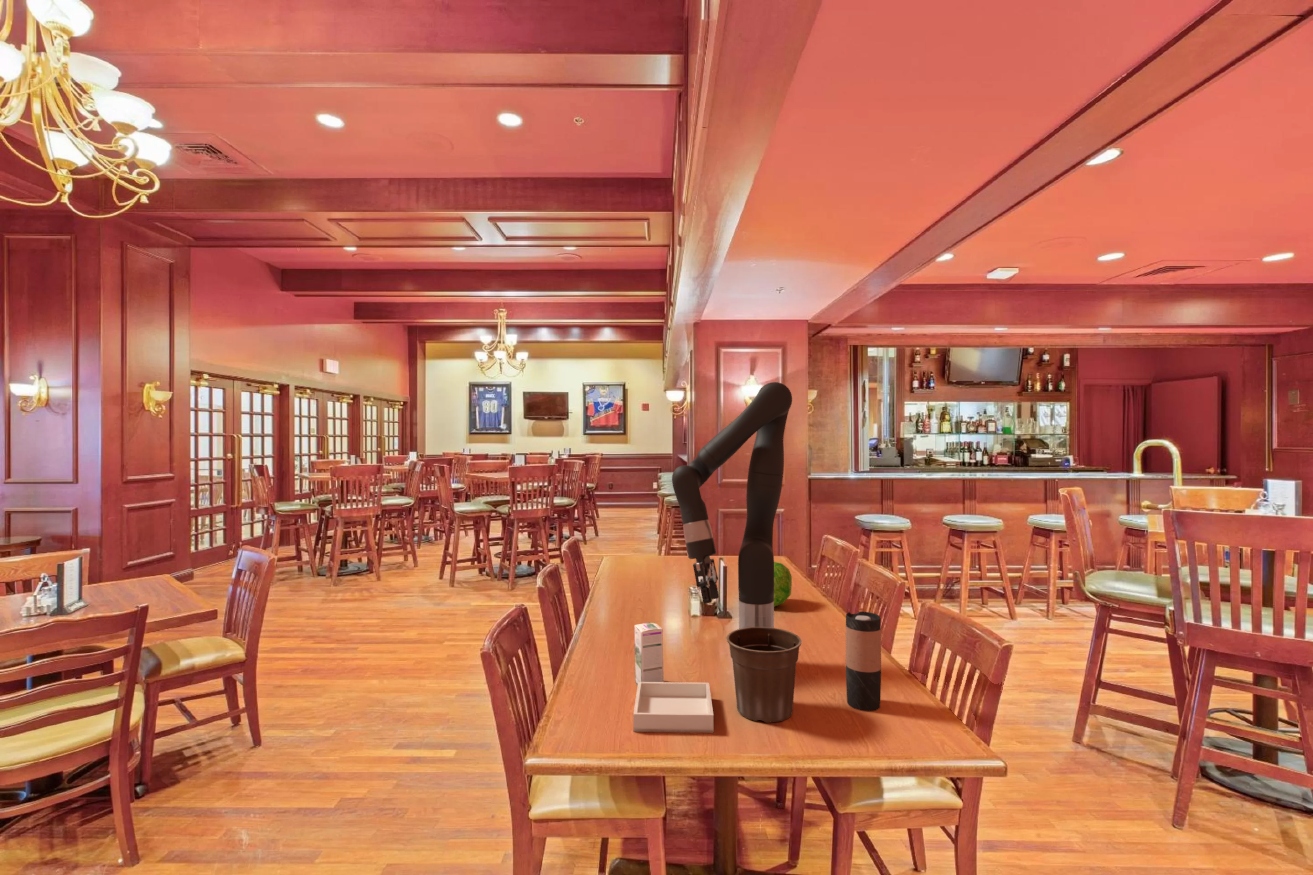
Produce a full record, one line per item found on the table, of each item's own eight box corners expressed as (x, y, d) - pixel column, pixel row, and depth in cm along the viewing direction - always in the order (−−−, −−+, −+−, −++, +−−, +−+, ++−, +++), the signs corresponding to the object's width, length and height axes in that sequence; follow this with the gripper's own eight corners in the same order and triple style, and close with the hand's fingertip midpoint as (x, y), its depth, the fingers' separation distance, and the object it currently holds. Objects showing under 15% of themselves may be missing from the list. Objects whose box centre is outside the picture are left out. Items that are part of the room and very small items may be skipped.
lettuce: (778, 600, 228) (753, 566, 231) (810, 582, 213) (783, 546, 216) (751, 624, 217) (725, 588, 220) (783, 607, 202) (755, 568, 205)
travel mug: (877, 714, 130) (877, 622, 130) (841, 706, 134) (841, 617, 134) (884, 701, 136) (884, 614, 136) (850, 694, 140) (850, 609, 140)
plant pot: (765, 736, 120) (764, 656, 121) (712, 707, 133) (711, 635, 134) (817, 714, 130) (817, 640, 130) (763, 689, 143) (762, 622, 143)
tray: (708, 698, 138) (708, 682, 138) (713, 732, 122) (713, 714, 122) (638, 697, 139) (638, 681, 139) (633, 731, 122) (633, 714, 122)
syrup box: (664, 688, 144) (664, 628, 144) (641, 691, 142) (641, 630, 142) (656, 679, 149) (656, 621, 149) (633, 682, 147) (633, 623, 147)
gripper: (706, 537, 151) (719, 602, 148) (718, 535, 165) (730, 595, 162) (678, 542, 153) (691, 607, 150) (692, 540, 167) (704, 599, 164)
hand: (711, 600), depth 156 cm, fingers open, 8 cm apart
